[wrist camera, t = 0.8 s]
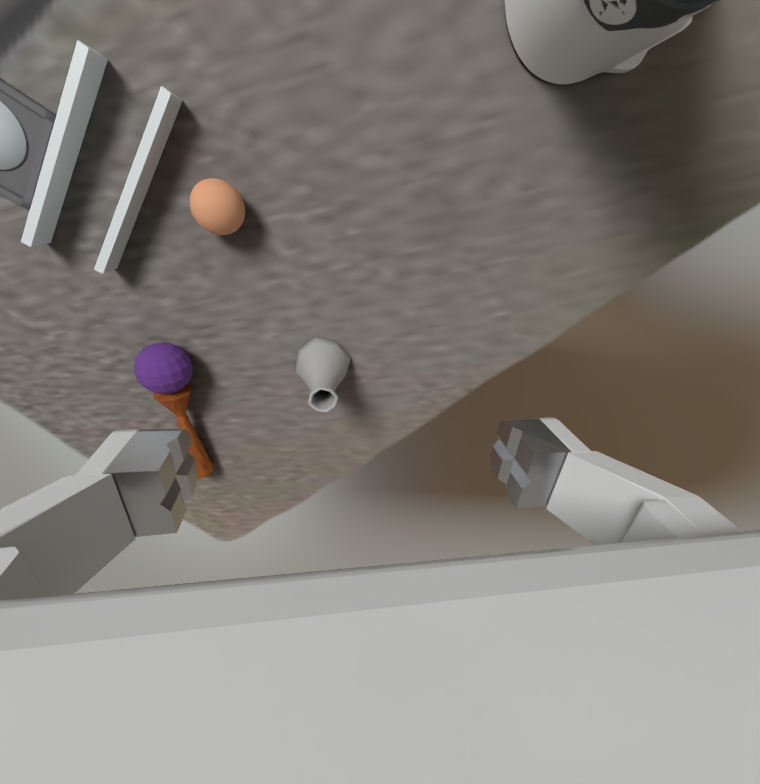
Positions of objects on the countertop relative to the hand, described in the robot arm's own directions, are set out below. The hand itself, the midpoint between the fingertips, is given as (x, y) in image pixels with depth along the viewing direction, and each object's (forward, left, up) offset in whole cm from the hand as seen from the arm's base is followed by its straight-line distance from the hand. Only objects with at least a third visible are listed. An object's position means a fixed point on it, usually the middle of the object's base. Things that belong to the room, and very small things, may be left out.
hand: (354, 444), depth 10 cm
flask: (+13, +7, -37) cm, 40 cm away
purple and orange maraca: (+28, -5, -37) cm, 47 cm away
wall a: (+6, -18, -37) cm, 41 cm away
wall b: (+7, -24, -37) cm, 44 cm away
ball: (+3, -11, -37) cm, 38 cm away
